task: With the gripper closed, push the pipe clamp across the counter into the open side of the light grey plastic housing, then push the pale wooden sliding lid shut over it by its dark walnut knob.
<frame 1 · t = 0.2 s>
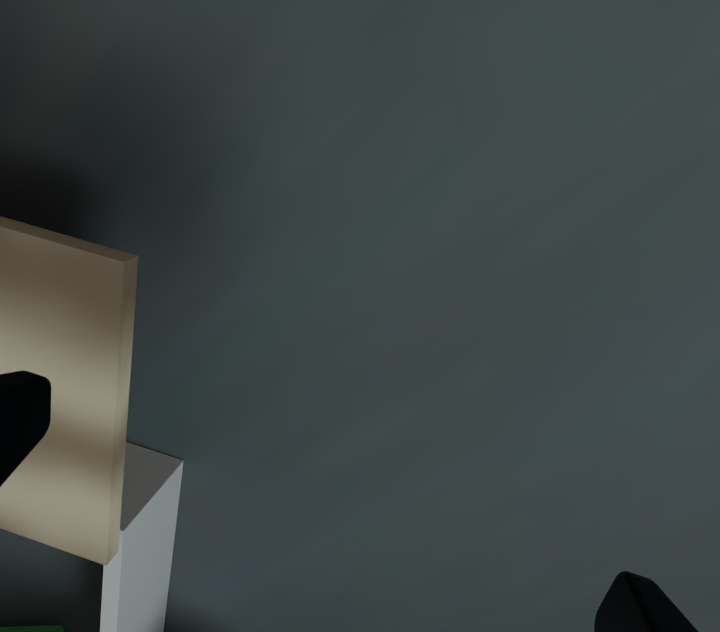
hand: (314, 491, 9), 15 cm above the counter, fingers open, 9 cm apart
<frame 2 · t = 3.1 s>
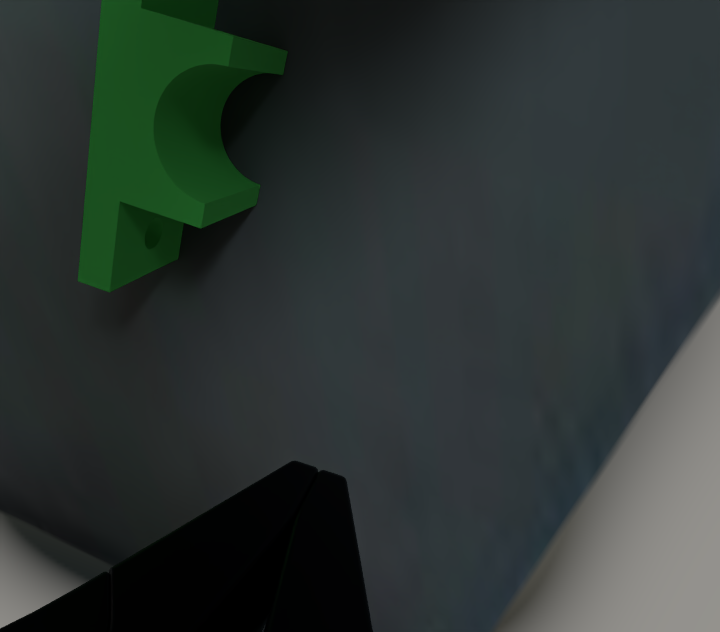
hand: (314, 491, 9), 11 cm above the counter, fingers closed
pipe clamp: (221, 117, 19), on the counter
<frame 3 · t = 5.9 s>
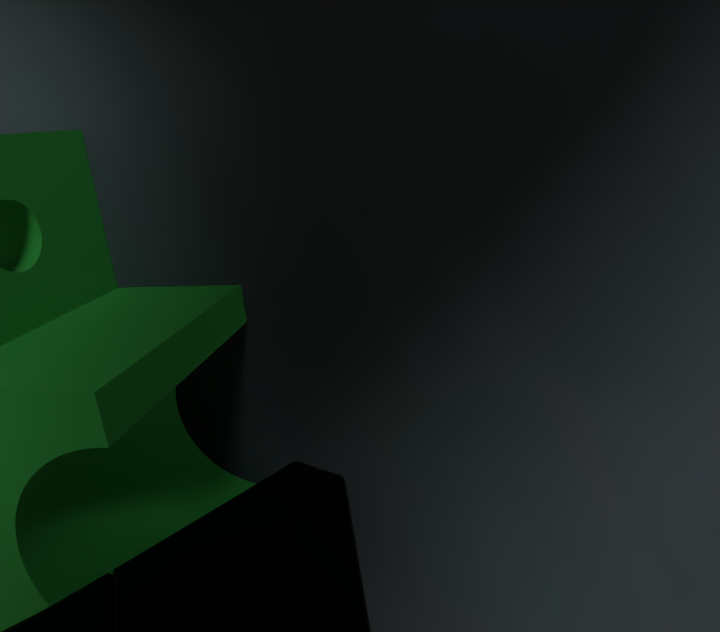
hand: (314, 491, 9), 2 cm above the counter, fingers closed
pipe clamp: (179, 403, 11), on the counter
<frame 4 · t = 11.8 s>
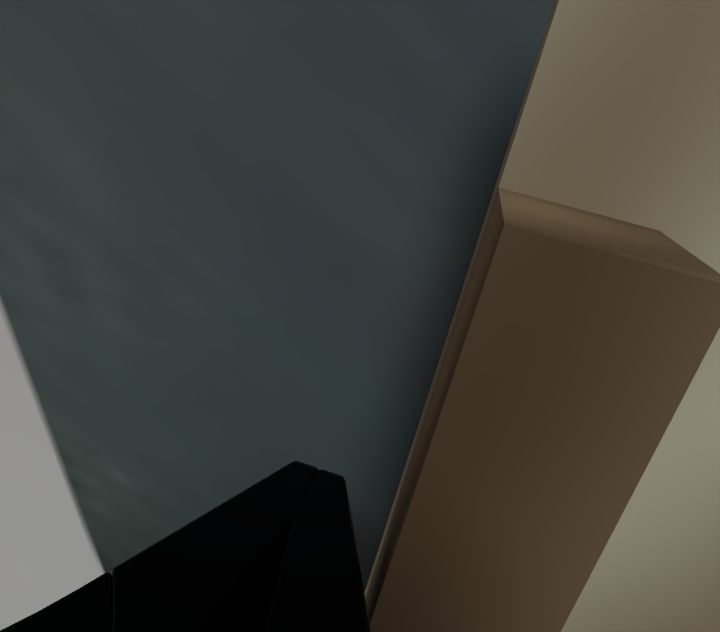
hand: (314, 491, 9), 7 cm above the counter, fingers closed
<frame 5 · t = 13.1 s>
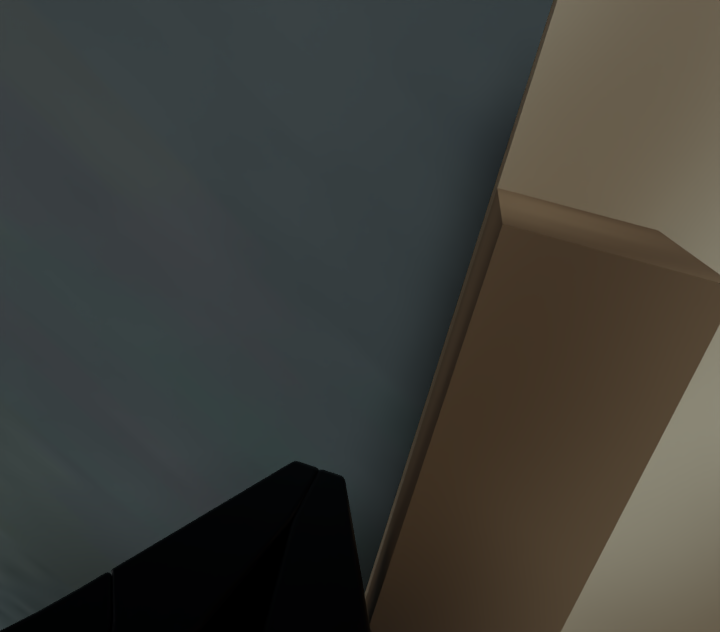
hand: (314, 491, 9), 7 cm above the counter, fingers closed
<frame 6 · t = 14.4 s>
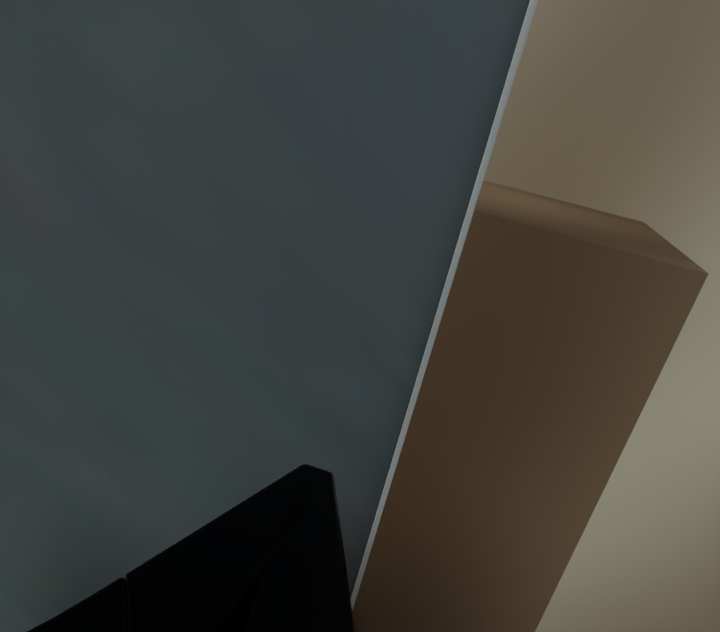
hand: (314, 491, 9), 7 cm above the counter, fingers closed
housing: (700, 428, 14), on the counter
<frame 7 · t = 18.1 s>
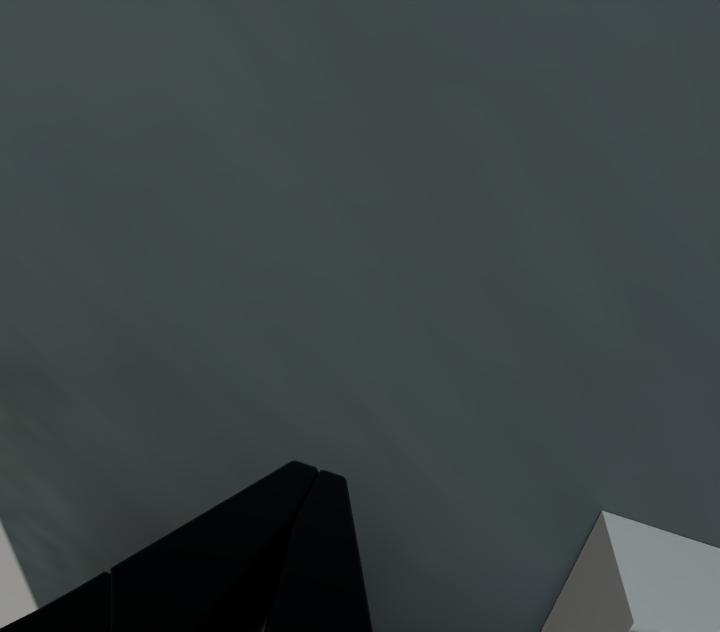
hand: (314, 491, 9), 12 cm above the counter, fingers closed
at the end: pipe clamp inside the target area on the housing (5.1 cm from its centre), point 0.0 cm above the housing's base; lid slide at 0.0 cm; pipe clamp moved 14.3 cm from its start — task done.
